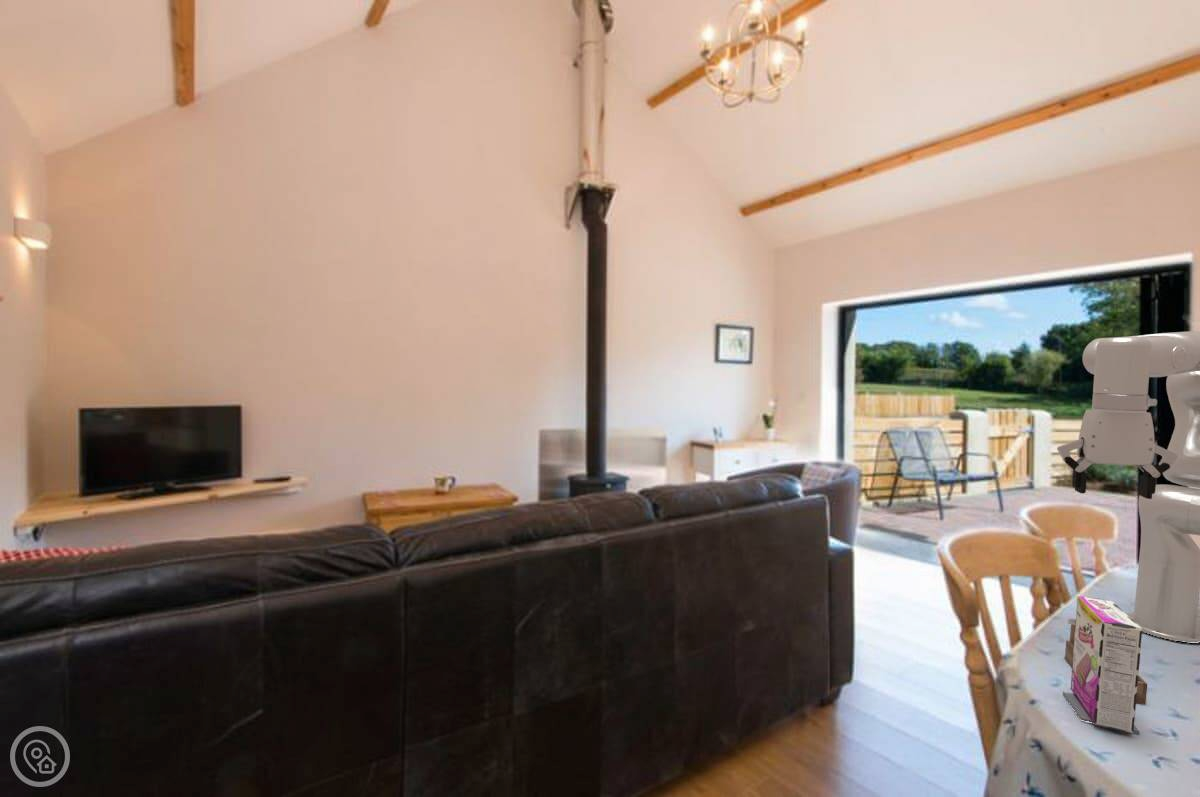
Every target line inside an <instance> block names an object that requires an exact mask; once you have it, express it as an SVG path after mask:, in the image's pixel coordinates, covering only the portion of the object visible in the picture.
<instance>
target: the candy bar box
mask: <svg viewBox="0 0 1200 797" xmlns="http://www.w3.org/2000/svg"><path fill="white" fill-rule="evenodd" d="M1075 612H1076V614H1075V619H1076V624H1075V639H1074V651H1073V665H1072V667H1071V677H1070V678H1071V680H1070V690H1071V691H1072V694H1075V696H1076V697H1077V699H1078V700H1079V702H1080V703H1081V705H1082V706H1083V707H1084V709H1085V710H1086V712H1087V713H1088V715H1089V716H1090V718H1091V719H1092V721H1093V722H1094V724H1093V725H1095V726H1099V727H1102V728H1105V729H1111V730H1115V731H1121V732H1124V733H1128V734H1129V733H1130V734H1134V725H1135V720H1136V719H1135V717H1136V711H1137V710H1136V709H1137V708H1136V707H1137V703H1136V699H1137V687H1138V675H1139V673H1140V664H1141V662H1140V660H1141V651H1142V650H1141V649H1142V648H1141V646H1142V638H1143V632H1142V630H1143V629H1142V628H1141V627H1140V626H1139V625H1138V624H1137V623H1136V622H1135V621H1133V620H1132V619H1131V618H1130V617H1129V616H1128V615H1127V614H1128V613H1126V612H1125V611H1124V610H1122V609H1121V607H1119V606H1118V604H1116V603H1115V602H1114V601H1112V600H1106V599H1100V598H1096V597H1095V598H1094V597H1089V596H1083V595H1082V596H1081V595H1079V596H1077V599H1076V610H1075ZM1139 676H1140V675H1139Z"/></svg>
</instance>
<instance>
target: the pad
mask: <svg viewBox="0 0 1200 797" xmlns="http://www.w3.org/2000/svg"><path fill="white" fill-rule="evenodd" d="M1062 695H1063V697H1064V699H1065V698H1066V699H1065V700H1066V702H1067V701H1068V702H1069V703H1070V704H1069V703H1068V702H1067V703H1068V704H1069V706H1070V705H1071V706H1072V707H1071V706H1070V707H1071V708H1073V709H1074V710H1075V712H1076V713H1077V715H1078V716H1079V718H1080V719H1081V720H1084V721H1089V722H1092V723H1094V722H1093V721H1092V719H1091V718H1090V716H1089V715H1088V713H1087V712H1086V710H1085V709H1084V707H1083V706H1082V705H1081V703H1080V702H1079V700H1078V699H1077V697H1076V696H1075V694H1074V693H1069V692H1064V691H1063V692H1062ZM1073 709H1072V710H1073ZM1074 710H1073V711H1074ZM1075 712H1074V713H1075ZM1076 713H1075V714H1076ZM1077 715H1076V716H1077ZM1078 716H1077V717H1078ZM1079 718H1078V719H1079ZM1080 719H1079V720H1080ZM1133 734H1135V735H1139V736H1140V734H1141V731H1140V730H1139V729H1138V728H1137V727H1136V725H1135V724H1134V733H1133Z"/></svg>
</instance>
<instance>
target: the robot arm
mask: <svg viewBox="0 0 1200 797" xmlns="http://www.w3.org/2000/svg"><path fill="white" fill-rule="evenodd" d="M1082 364H1083V366H1084V368H1085V369H1086V371H1087V372H1088V373H1090V374H1091V375H1094V376H1093V387H1092V389H1093V390H1092V392H1093V393H1092V401H1091V402H1092V403H1091V409H1086V410H1085V412H1084V414H1083V418H1082V420H1081V421H1082V422H1081V424H1080V428H1079V429H1080V430H1079V434H1078V439H1076V440H1074V441H1071V442H1067V443H1065V444H1061V445H1060V446H1058V447H1057V448H1056V449H1057V452H1058V453H1059V455H1060V457H1061V459H1062V461H1063V462H1064V463H1065V464H1066V465H1067V466H1069V467H1070V469H1071V470H1072V482H1071V484H1072V488H1074V491H1075V492H1077V493H1079V494H1085V493H1086V492H1087V482H1088V481H1087V478H1088V474H1087V472H1086V471H1085V470H1086V469H1088V468H1089V467H1090V466H1091V465H1092V464H1099V465H1113V466H1129V467H1130V466H1131V467H1138V468H1139V469H1140V470H1141V471H1142V472H1143V473H1141V474H1140V476H1139V486H1138V495H1139V497H1138V512H1139V519H1140V520H1139V521H1140V547H1139V558H1138V566H1137V567H1138V568H1137V578H1136V590H1135V600H1134V608H1133V609H1134V610H1133V611H1134V612H1128V613H1126V614H1127V615H1128V616H1129V617H1130V618H1131V619H1132V620H1133V621H1135V622H1136V623H1137V624H1138V625H1139V626H1140V627H1141V628H1142V629H1143V630H1142V633H1144V634H1146V633H1147V635H1149V634H1150V635H1149V636H1152V635H1153V637H1155V636H1157V637H1156V638H1159V637H1161V638H1160V639H1162V638H1164V639H1163V640H1166V639H1170V640H1169V641H1171V640H1177V641H1185V642H1198V641H1200V616H1199V615H1198V612H1199V603H1200V547H1199V546H1198V545H1197V543H1196V541H1195V540H1194V539H1193V538H1192V537H1191V535H1193V536H1194V535H1195V536H1200V330H1189V331H1179V332H1178V331H1176V332H1161V333H1153V334H1152V333H1150V334H1143V335H1142V334H1141V335H1132V336H1129V335H1128V336H1118V337H1117V336H1116V337H1114V336H1113V337H1103V338H1101V337H1100V338H1095V339H1093V340H1092V341H1091V342H1089V343H1088V344H1087V345H1086V347H1085V348H1084V350H1083V353H1082ZM1163 377H1166V383H1165V385H1166V387H1165V389H1166V393H1167V396H1168V401H1169V404H1170V408H1171V411H1172V413H1173V417H1174V424H1175V425H1174V429H1173V432H1172V434H1171V439H1170V441H1169V444H1168V446H1167V449H1165V448H1164V447H1162V446H1160V445H1158V444H1155V430H1154V424H1153V422H1154V421H1153V417H1152V413H1151V412H1148V411H1147V410H1149V408H1150V407H1157V405H1158V400H1157V398H1151V397H1150V395H1149V382H1150V378H1163ZM1075 450H1076V455H1077V457H1078V458H1077V459H1074V458H1073V457H1072V456H1071V452H1072V451H1075ZM1155 454H1157V455H1158V456H1159V455H1160V456H1161V459H1160V461H1158V462H1157V463H1155V464H1154V465H1153V463H1154V460H1155V459H1154V458H1155ZM1161 475H1162V476H1163V477H1164V478H1165V479H1166V480H1167V481H1170V482H1171V483H1174V484H1157V478H1159V477H1161ZM1175 484H1177V485H1175Z"/></svg>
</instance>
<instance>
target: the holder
mask: <svg viewBox="0 0 1200 797" xmlns="http://www.w3.org/2000/svg"><path fill="white" fill-rule="evenodd" d="M1067 624H1068V625H1070V631H1069V632H1070V634H1069V640H1065V650H1064V651H1065V652H1064V660H1065V661H1066V662H1067V664H1068V665H1069V666H1070V667H1071V668H1072V665H1073V651H1074V639H1075V624H1076V618H1072V617H1068V618H1067ZM1147 692H1148V683H1147V682H1146V681H1145V680H1144V679H1143V678H1142V676H1140V675H1138V687H1137V699H1136V704H1139V705H1147V703H1146V702H1147V695H1148V694H1147Z"/></svg>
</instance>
